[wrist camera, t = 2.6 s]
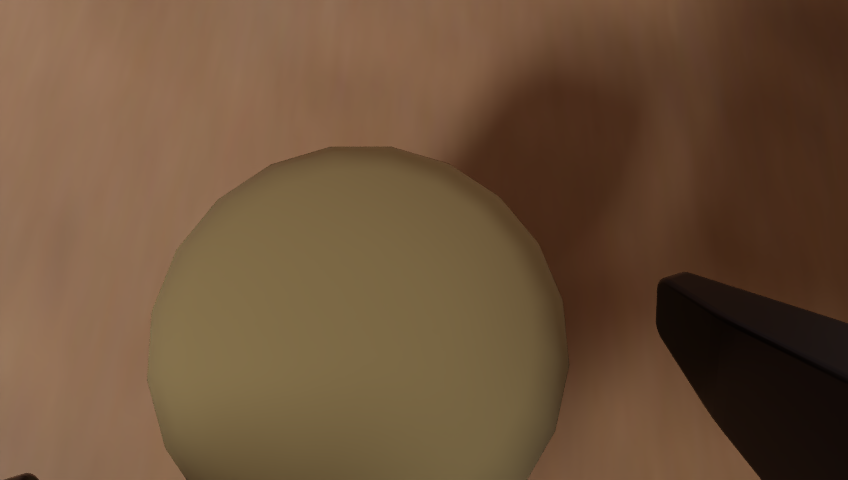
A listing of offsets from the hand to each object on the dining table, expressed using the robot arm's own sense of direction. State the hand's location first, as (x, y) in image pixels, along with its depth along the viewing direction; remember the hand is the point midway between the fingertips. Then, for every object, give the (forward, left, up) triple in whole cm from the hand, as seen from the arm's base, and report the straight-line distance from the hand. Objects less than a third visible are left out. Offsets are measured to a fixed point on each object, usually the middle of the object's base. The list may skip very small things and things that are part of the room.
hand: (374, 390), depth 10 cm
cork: (+1, 0, -8) cm, 8 cm away
